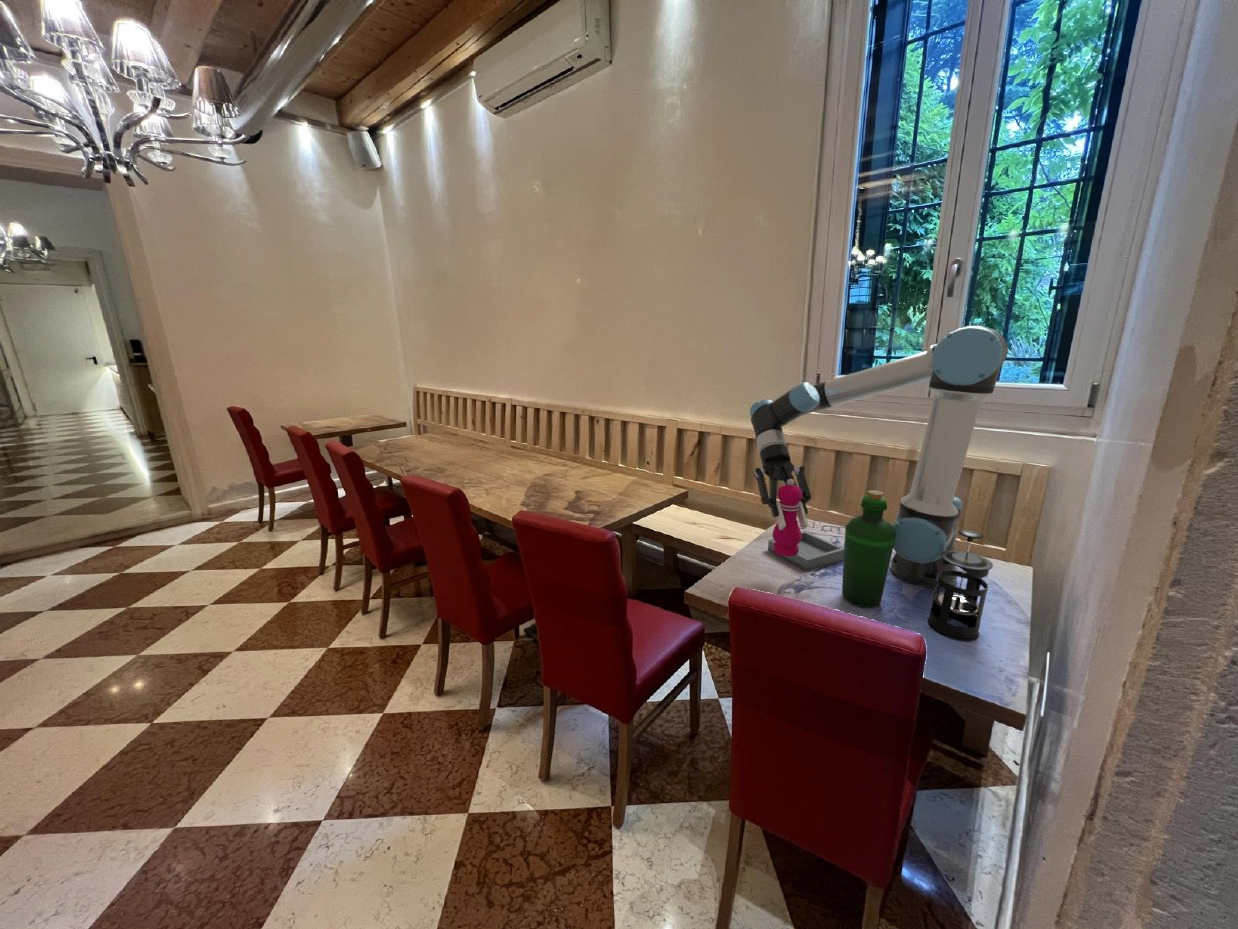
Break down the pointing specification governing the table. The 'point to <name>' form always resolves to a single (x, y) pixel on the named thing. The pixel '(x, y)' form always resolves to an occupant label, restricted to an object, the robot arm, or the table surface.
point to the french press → (958, 605)
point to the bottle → (867, 553)
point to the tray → (812, 552)
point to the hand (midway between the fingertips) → (793, 527)
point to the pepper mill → (788, 521)
